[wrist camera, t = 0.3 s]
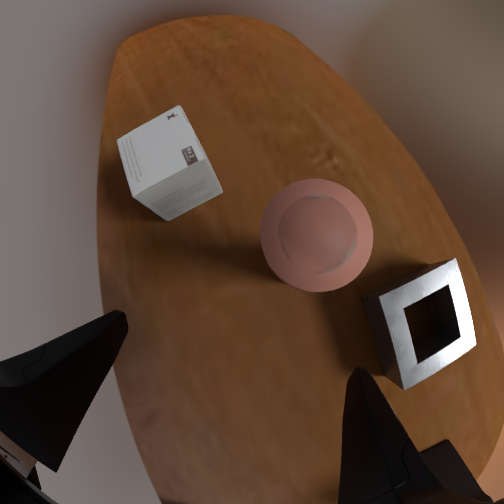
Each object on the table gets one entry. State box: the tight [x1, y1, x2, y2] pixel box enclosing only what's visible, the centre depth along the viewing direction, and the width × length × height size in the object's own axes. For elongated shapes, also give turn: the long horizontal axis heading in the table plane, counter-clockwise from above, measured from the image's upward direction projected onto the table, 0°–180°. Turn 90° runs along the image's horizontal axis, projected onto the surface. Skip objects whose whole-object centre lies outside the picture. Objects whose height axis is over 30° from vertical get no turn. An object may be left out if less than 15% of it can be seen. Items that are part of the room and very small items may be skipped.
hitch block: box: [361, 258, 476, 390], centre depth 19 cm, size 8×8×4 cm
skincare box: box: [117, 106, 223, 221], centre depth 22 cm, size 6×6×7 cm
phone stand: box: [420, 440, 493, 503], centre depth 12 cm, size 9×6×12 cm, turn 11°
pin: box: [260, 179, 373, 292], centre depth 17 cm, size 5×5×13 cm
